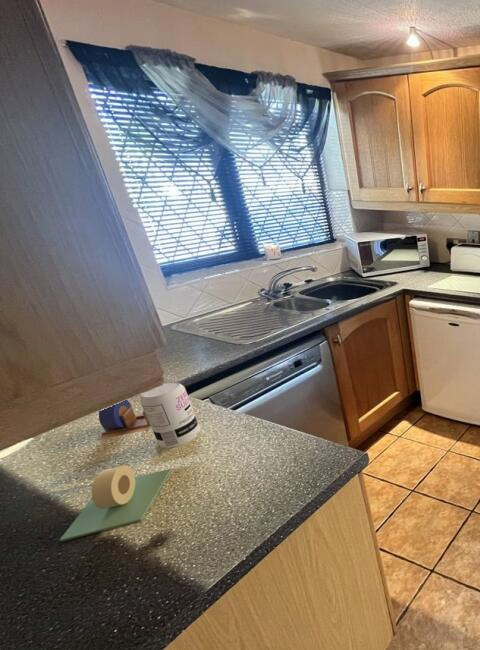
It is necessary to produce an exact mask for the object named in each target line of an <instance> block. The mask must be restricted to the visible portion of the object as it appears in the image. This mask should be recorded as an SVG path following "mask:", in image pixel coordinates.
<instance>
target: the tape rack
mask: <svg viewBox="0 0 480 650" xmlns="http://www.w3.org/2000/svg"><path fill="white" fill-rule="evenodd" d="M122 419H123V421H124V423H125V425H126V427H124V428H118V429H113V430H106V429H104V428H103V429H104V432H101V436H100V437H99V438H98V440H99V441H100V440H104V439H108V438H113V437H118V436H124V435H129V434H135V433H139V432H144V431H148V430H149V429H150V428H151V425H150V423H149V421H148V419H147V416H146V414H145V412H144V410H143V411H142V413H141V414H135V411H134V409H133V407H132V406H131V407H129V408H128V409H127V410H126V412H125V413H124V414H123V415H122Z"/></svg>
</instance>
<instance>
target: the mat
mask: <svg viewBox="0 0 480 650" xmlns="http://www.w3.org/2000/svg"><path fill="white" fill-rule="evenodd" d="M171 472H172V469H171V468H169V469H165V470H160V471H155V472H152V473H147V474H143V475H139V476H135V489H134V493H133V495H132V497H131V499H130V500H129V501H128V502H127V503H125V504H122V505H118V506H114V507H110V508H106V509H100V508H98V507H97V506H96V505H95V504H94V502H93V498H92V497H91V499H90V500H89V502H88V503H87V504H86V505H85V506H84V508H83V509H82V510H81V512H80V513H79V514H78V515H77V517H76V518H75V519H74V521H73V522H72V523H71V524H70V525H69V527H68V528H67V530H66V531H65V532H64V534H62V536H61V537H60V539H59V542H60V543H62V542H65V541H69V540H73V539H77V538H80V537H84V536H89V535H92V534H96V533H97V534H98V533H100V532H103V531H104V532H105V531H107V530H112V529H116V528H119V527H124V526H127V525H130V524H134V523H135V524H136V523H139V522H142V521H143V519H144V518H145V516H146V515H147V512H148V511H149V508H151V506H152V504H153V502H154V501H155V499H156V497H157V495H158V494H159V492H160V491H161V488H162V487H163V486H164V484H165V482H166V481H167V479H168V477H169V476H170V474H171Z"/></svg>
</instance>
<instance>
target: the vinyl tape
mask: <svg viewBox="0 0 480 650" xmlns="http://www.w3.org/2000/svg"><path fill="white" fill-rule="evenodd" d="M129 407H132V404H131V403H130V401H129V400H128V399H126V400H125V401H123V402H121V403H119V404H116V405H113V406H112V407H109V408H107V409H104V410H102V411H98V420H99V423H100V426H101V427H102V428H103V429H106V430H113V429H118V428H124V427H126V425H125V423H124V421H123V419H122V415H123V414H124V413H125V412H126V410H127V409H128V408H129Z"/></svg>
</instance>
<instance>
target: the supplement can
mask: <svg viewBox="0 0 480 650" xmlns="http://www.w3.org/2000/svg"><path fill="white" fill-rule="evenodd" d="M163 382H164V384H163V386H161V387H158V388H155V389H153V390H151V391H148V392H145V393H142V392H141V395H140V400H139V403H140V405H141V407H142V409H143V411H144V412H145V414H146V416H147V419H148V421H149V423H150V425H151V426H150V428H151V430H152V433H153V435H154V437H155V439H156V441H157V444H158V446H159V447H160V448H163V449H170V448H171V449H172V448H176V447H179V446H181V445H182V446H183V445H185V444H187V443H189V442H191V441H192V440H194V439H195V438H196V437H197V436H198V435H199V434H200V433H201V426H200V423H199V421H198V419H197V416H196V413H195V410H194V408H193V405H192V403H191V400H190V398H189V395H188V392H187V389H186V387H185V386H184V385H183V384H181V383H180V382H179V381H175V380H169V381H168V380H167V381H163Z"/></svg>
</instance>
